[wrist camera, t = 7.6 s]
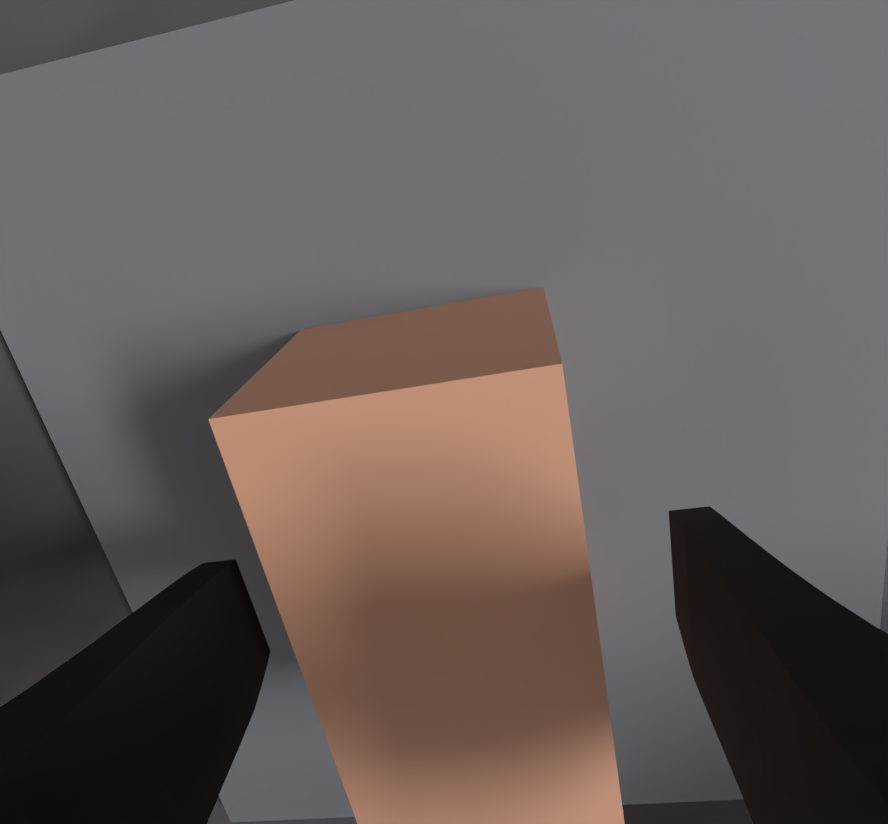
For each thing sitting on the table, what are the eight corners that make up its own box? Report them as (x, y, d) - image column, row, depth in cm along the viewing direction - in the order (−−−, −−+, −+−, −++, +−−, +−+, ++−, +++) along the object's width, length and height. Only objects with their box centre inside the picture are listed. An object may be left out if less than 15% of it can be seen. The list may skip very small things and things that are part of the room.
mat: (919, -147, 9) (947, -165, 8) (853, 770, 16) (865, 794, 15) (-77, 103, 11) (-107, 101, 11) (239, 801, 18) (231, 822, 17)
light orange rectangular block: (593, 646, 14) (625, 828, 10) (398, 664, 15) (363, 840, 11) (543, 286, 11) (562, 363, 7) (301, 330, 12) (207, 419, 8)
